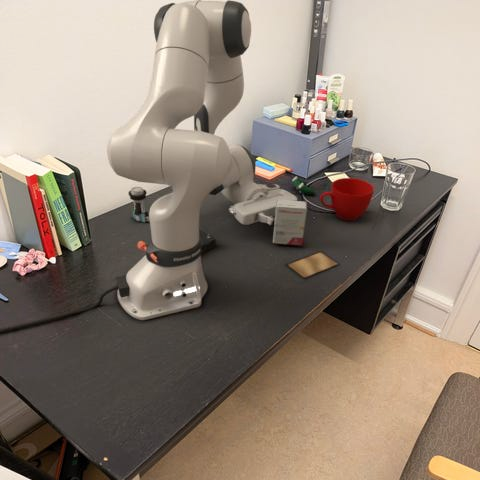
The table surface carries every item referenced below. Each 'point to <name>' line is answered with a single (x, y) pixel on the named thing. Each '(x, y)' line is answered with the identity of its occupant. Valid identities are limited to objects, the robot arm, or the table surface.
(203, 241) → the disk drive
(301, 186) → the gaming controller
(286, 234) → the ink box
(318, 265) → the gold rectangular plate
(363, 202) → the ceramic cup
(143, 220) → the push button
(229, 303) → the table surface
